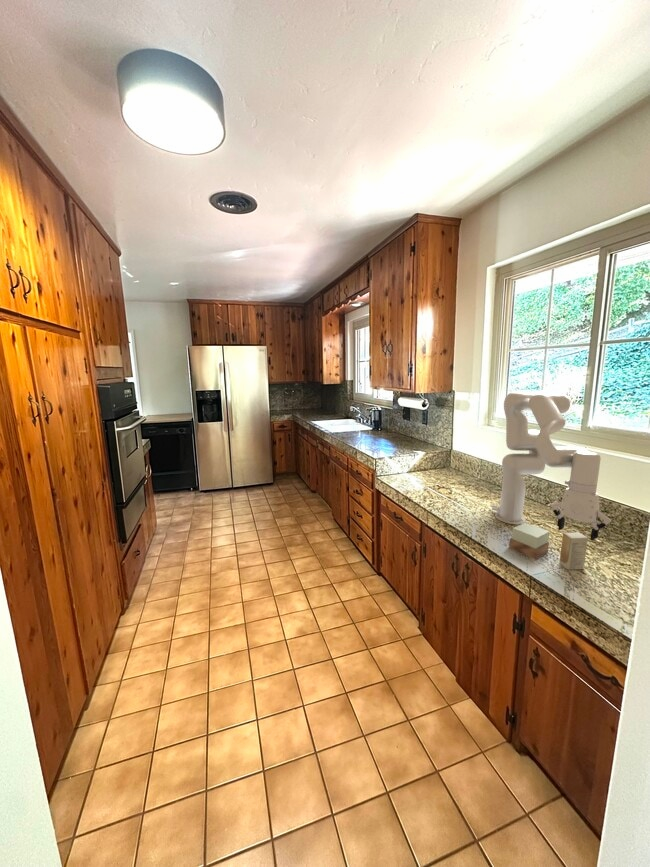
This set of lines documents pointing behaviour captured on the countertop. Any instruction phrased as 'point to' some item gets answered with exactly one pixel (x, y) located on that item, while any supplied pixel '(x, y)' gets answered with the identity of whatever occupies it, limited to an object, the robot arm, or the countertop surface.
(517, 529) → the tower top
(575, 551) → the skincare box
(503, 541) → the countertop surface
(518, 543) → the tower bottom
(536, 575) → the countertop surface
